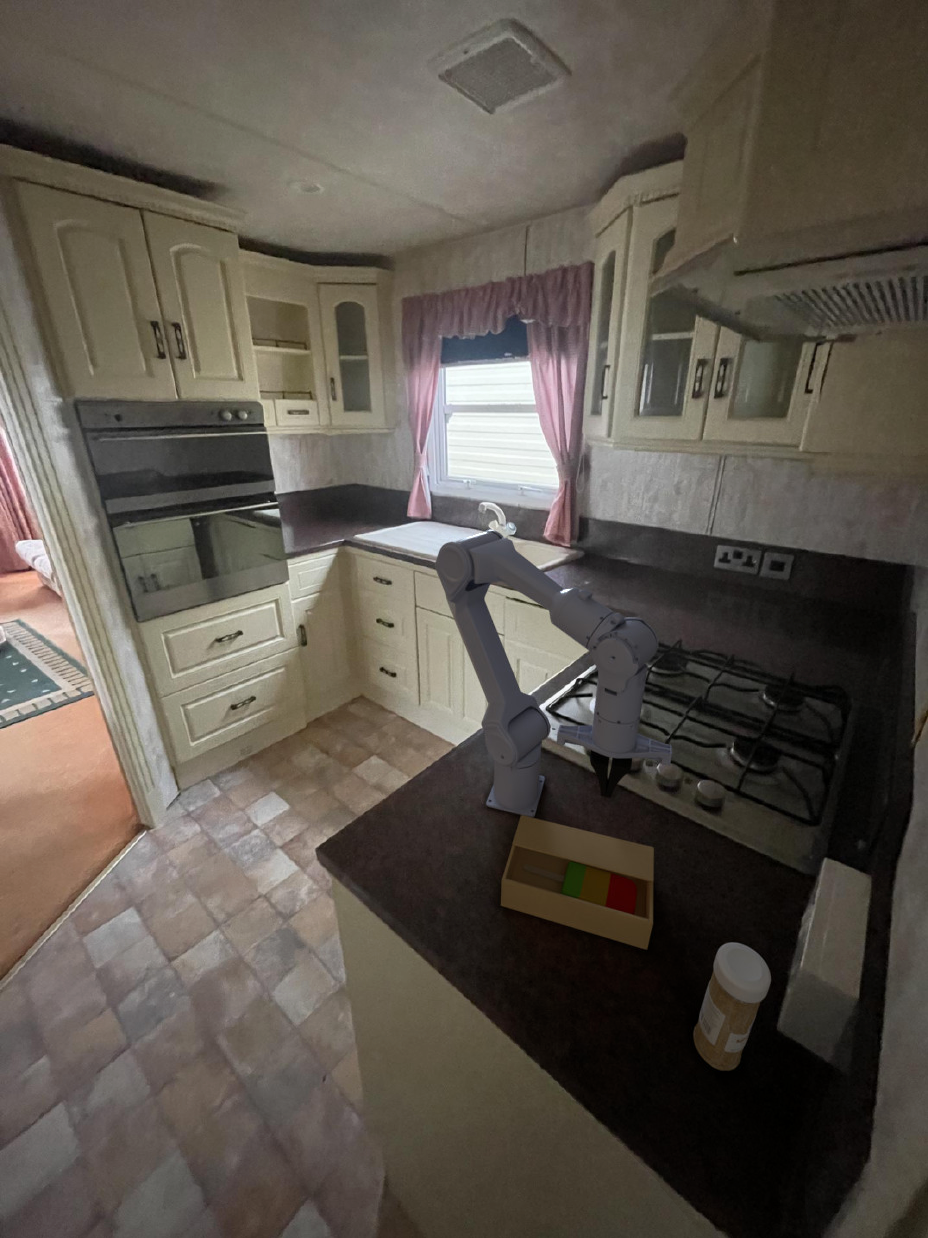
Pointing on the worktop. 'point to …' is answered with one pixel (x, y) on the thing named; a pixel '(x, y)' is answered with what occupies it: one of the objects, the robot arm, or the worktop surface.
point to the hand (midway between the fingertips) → (606, 792)
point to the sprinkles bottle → (730, 1005)
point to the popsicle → (593, 886)
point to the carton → (573, 900)
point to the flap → (586, 847)
